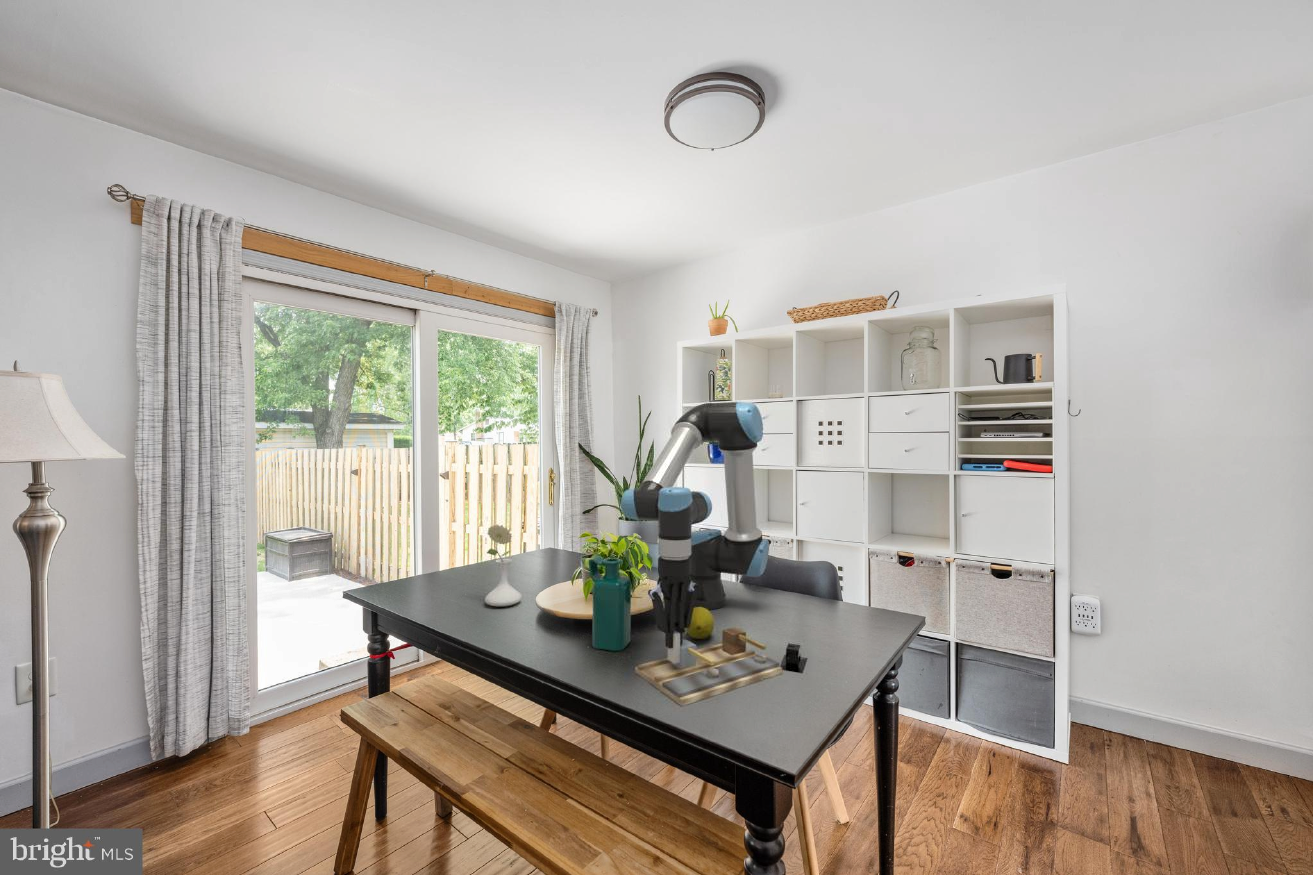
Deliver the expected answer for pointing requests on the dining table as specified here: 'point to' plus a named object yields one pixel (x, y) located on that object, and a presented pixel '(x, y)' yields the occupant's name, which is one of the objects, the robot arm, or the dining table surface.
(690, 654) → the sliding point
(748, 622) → the dining table surface
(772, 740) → the dining table surface
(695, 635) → the lemon
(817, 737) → the dining table surface
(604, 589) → the pitcher
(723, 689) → the gauge board
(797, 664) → the black stand
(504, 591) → the flower in vase
